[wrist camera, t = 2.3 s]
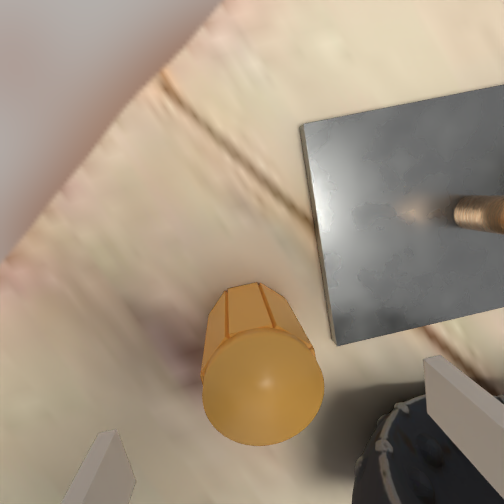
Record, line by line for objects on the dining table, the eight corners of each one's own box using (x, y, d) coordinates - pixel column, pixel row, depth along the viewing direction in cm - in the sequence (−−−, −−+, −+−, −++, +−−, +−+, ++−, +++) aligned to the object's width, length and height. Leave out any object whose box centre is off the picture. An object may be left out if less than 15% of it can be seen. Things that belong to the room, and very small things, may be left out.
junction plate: (332, 339, 23) (377, 402, 16) (299, 127, 19) (339, 91, 13) (588, 279, 24) (733, 314, 17) (600, 68, 20) (788, 5, 14)
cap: (220, 365, 22) (217, 458, 15) (202, 294, 21) (188, 353, 13) (295, 348, 23) (332, 429, 15) (281, 276, 21) (314, 324, 14)
